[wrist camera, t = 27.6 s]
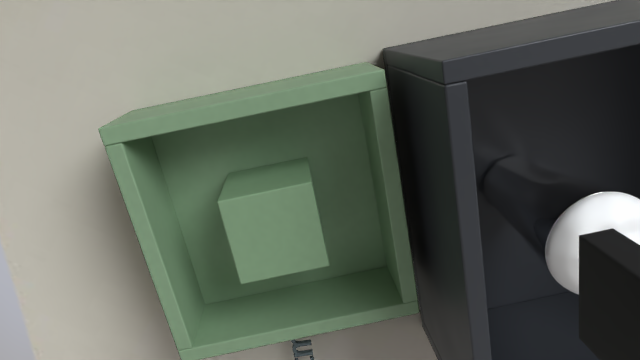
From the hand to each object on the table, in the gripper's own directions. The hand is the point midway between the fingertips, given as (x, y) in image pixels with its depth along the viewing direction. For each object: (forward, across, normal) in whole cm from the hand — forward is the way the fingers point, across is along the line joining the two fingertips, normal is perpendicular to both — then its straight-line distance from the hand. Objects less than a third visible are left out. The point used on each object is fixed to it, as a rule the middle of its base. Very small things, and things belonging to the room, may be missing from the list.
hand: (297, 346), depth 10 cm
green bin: (+16, -1, -2) cm, 16 cm away
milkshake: (+16, +12, -4) cm, 20 cm away
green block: (+15, -1, -2) cm, 16 cm away
